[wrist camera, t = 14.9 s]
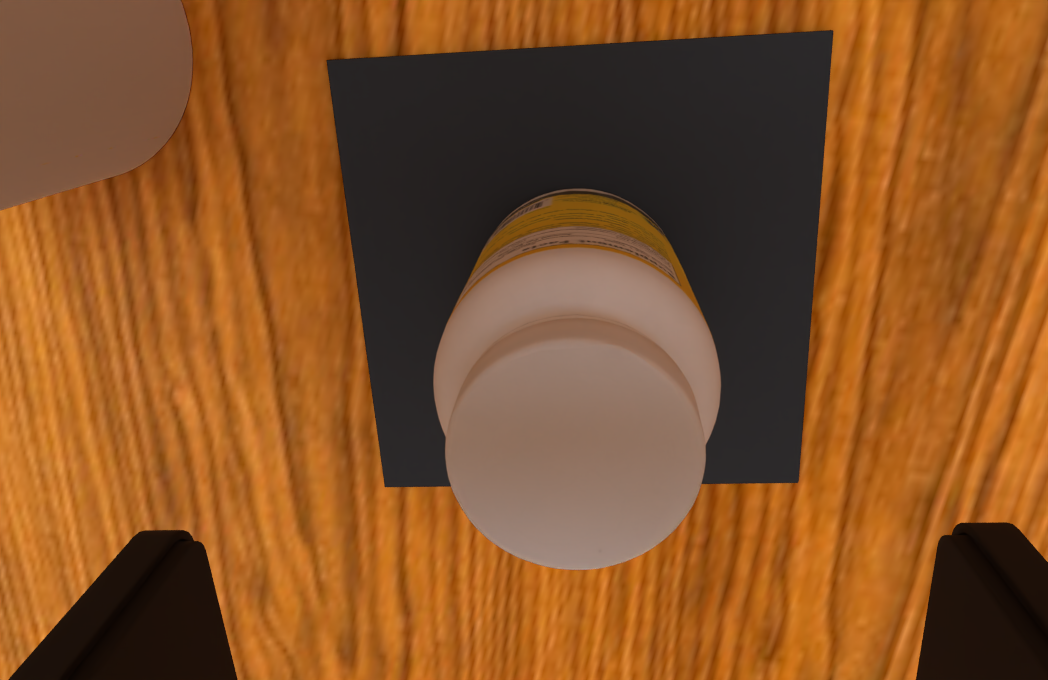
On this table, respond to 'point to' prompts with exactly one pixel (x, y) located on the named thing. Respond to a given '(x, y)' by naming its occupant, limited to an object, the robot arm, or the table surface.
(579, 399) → the pill bottle
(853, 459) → the table surface
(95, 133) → the grey upright cylinder
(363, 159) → the mat
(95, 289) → the table surface
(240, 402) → the table surface
